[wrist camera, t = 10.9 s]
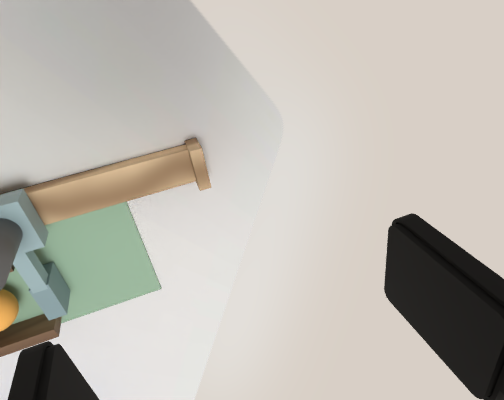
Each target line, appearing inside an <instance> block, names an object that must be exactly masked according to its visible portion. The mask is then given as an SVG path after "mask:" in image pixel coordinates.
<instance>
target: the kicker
mask: <svg viewBox="0 0 504 400" xmlns="http://www.w3.org/2000/svg"><path fill="white" fill-rule="evenodd" d="M48 233H49V232H48V230H47V229H46V227H45V225H44V223H43V222H42V220H41V218H40V217H39V215H38V213H37V211H36V210H35V208H34V206H33V204H32V203H31V201H30V199H29V197H28V196H27V194H26V192H25V191H24V189H19V190H16V191H12V192H8V193H5V194H1V195H0V290H2V289H3V287H4V286H5V284H6V281H7V279H8V276H9V273H10V270H11V268H12V265H14V267H15V268H16V269H17V271H18V272H19V274H20V275H21V277H22V278H23V280H24V281H25V283H26V284H27V285H28V287H29V292H30V294H31V295H32V297H33V298H34V299H35V301H36V302H37V304H38V305H39V307H40V308H41V310H42V311H43V312H44V314H45V315H46V317H47V318H48V320H52V319H55V318H58V317H61V316H64V315H67V313H68V305H69V298H70V289H69V287H68V286H67V284H66V282H65V281H64V279H63V277H62V276H61V274H60V272H59V271H58V269H57V267H56V266H55V264H54V262H50V263H47V264H44V265H42V264H41V262H40V260H39V259H38V257H37V256H36V254H35V253H34V251H33V250H36V249H39V248H42V247H45V244H46V240H47V237H48Z"/></svg>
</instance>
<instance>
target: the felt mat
mask: <svg viewBox="0 0 504 400" xmlns="http://www.w3.org/2000/svg"><path fill="white" fill-rule="evenodd" d="M45 227H46V229H47V230H48V232H49V233H48V237H47V240H46V244H45V247H42V248H39V249H36V250H33V251H34V253H35V254H36V256H37V257H38V259H39V260H40V262H41V264H42V265H44V264H47V263H50V262H54V264H55V266H56V267H57V269H58V271H59V272H60V274H61V276H62V277H63V279H64V281H65V282H66V284H67V286H68V287H69V289H70V298H69V305H68V313H67V315H64V316H62V319H61V323H63V322H66V321H69V320H72V319H75V318H78V317H81V316H84V315H87V314H90V313H92V312H95V311H98V310H101V309H104V308H107V307H110V306H113V305H116V304H119V303H121V302H124V301H127V300H130V299H133V298H136V297H139V296H142V295H145V294H148V293H151V292H153V291H156V290H159V289H161V286H160V284H159V281H158V279H157V276H156V274H155V271H154V269H153V267H152V264H151V262H150V259H149V257H148V254H147V252H146V249H145V247H144V244H143V242H142V239H141V237H140V234H139V232H138V230H137V227H136V225H135V222H134V220H133V217H132V215H131V212H130V210H129V207H128V205H127V202H123V203H119V204H116V205H112V206H109V207H106V208H102V209H99V210H95V211H92V212H88V213H85V214H82V215H78V216H75V217H71V218H68V219H64V220H61V221H58V222H54V223H51V224H47V225H45ZM3 289H4V290H7V291H9V292H11V293H12V294H13V295H14V296H15V297H16V299H17V301H18V304H19V311H18V315H17V317H16V319H15V320H14V322H13V323H12V324H15V323H18V322H21V321H24V320H27V319H30V318H33V317H36V316H39V315H42V314H44V312H43V311H42V310H41V308H40V307H39V305H38V304H37V302H36V301H35V299H34V298H33V297H32V295H31V294H30V292H29V287H28V285H27V284H26V283H25V281H24V280H23V278H22V277H21V275H20V274H19V272H18V271H17V269H16V268H15V269H14V272H10V273H9V276H8V279H7V281H6V284H5V286H4V287H3ZM12 324H11V325H12Z"/></svg>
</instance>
